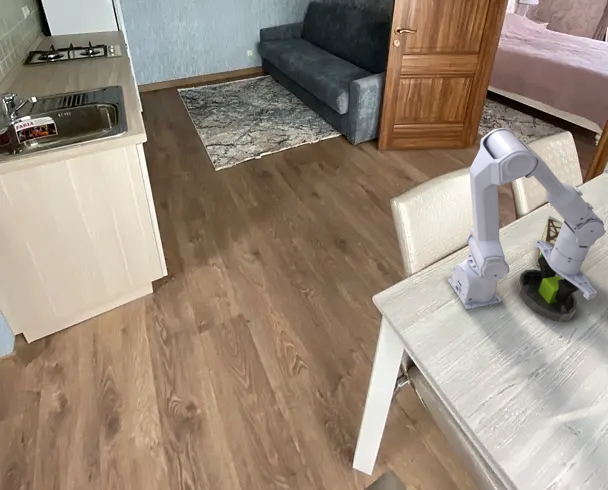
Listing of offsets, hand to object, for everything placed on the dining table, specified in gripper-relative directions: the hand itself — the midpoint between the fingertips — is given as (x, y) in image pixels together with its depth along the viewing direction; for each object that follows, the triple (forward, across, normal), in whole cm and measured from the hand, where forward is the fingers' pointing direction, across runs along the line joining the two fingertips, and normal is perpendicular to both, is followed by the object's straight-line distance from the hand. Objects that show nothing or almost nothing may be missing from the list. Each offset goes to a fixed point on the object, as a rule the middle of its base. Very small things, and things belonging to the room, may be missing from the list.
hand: (552, 291), depth 84 cm
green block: (+1, 0, 0) cm, 1 cm away
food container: (+2, +9, -9) cm, 13 cm away
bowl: (+2, 0, +2) cm, 3 cm away
